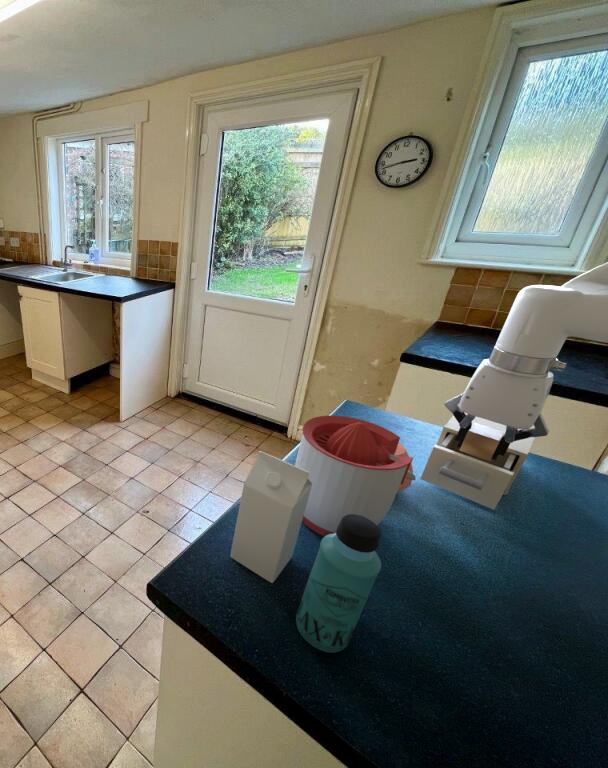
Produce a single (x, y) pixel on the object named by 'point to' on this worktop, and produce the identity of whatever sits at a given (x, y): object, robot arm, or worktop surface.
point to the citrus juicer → (349, 470)
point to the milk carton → (270, 515)
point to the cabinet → (516, 447)
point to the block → (481, 441)
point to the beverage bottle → (339, 584)
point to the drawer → (468, 473)
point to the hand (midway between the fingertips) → (477, 449)
